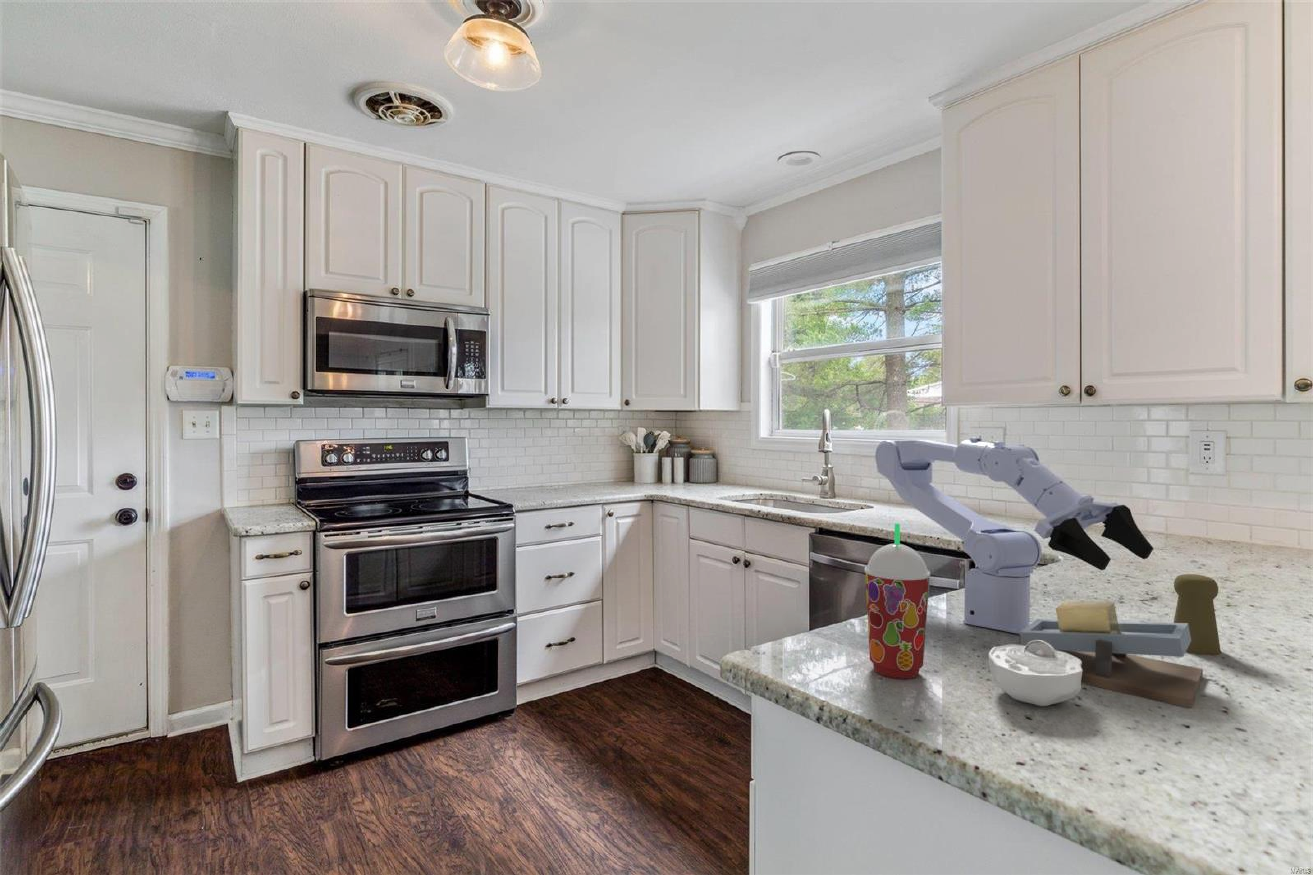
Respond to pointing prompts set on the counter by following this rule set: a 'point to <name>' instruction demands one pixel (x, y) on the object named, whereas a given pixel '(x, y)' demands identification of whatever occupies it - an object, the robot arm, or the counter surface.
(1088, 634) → the beam
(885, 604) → the smoothie
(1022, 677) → the cell model
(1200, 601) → the cork
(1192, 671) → the stand
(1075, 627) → the block
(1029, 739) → the counter surface
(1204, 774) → the counter surface
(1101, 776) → the counter surface
